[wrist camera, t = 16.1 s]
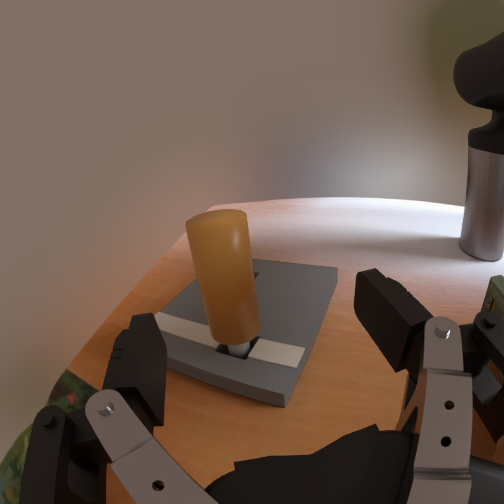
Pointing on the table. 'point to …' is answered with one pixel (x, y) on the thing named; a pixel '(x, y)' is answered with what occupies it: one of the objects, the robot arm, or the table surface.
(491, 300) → the handheld radio
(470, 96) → the robot arm
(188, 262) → the table surface
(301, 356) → the board
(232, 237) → the orange and grey cylinder
